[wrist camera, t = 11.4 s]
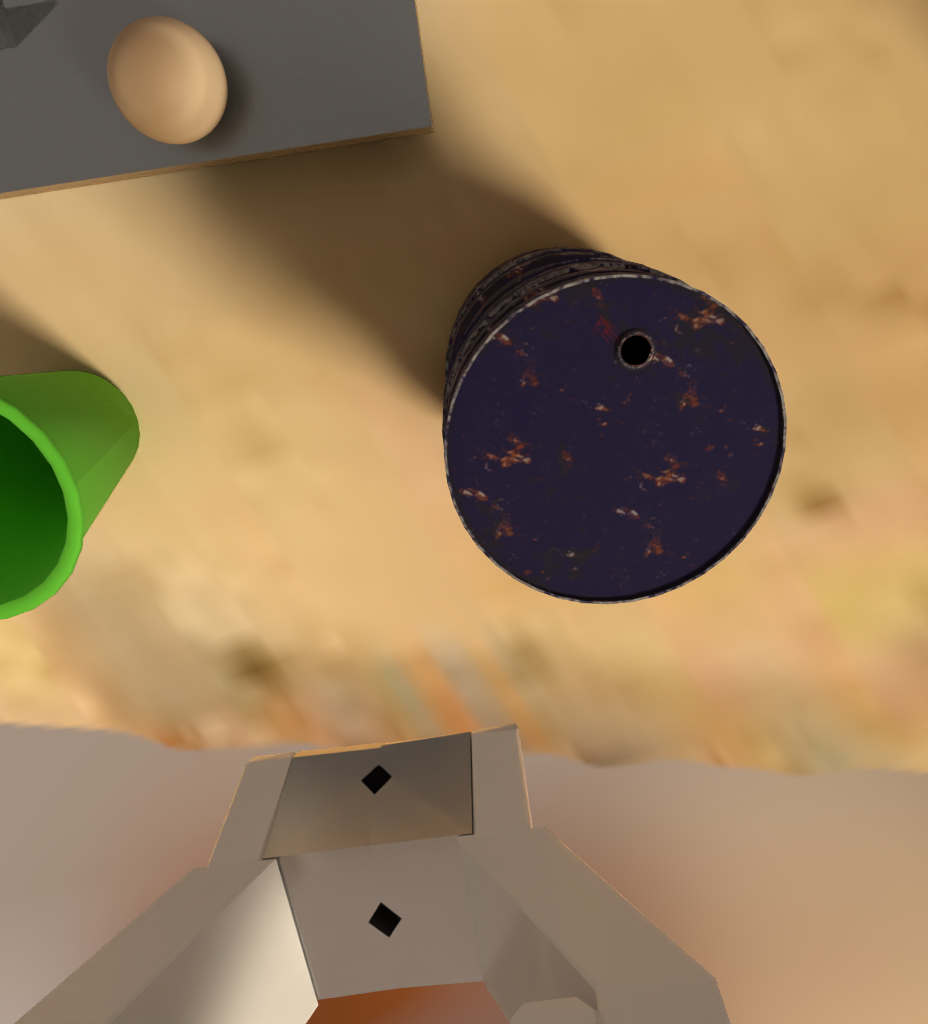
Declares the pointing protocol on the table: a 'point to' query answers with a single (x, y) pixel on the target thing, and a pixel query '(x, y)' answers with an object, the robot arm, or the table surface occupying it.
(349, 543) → the table surface
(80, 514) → the cup
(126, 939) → the robot arm
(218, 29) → the plate
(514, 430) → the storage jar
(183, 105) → the wood ball
